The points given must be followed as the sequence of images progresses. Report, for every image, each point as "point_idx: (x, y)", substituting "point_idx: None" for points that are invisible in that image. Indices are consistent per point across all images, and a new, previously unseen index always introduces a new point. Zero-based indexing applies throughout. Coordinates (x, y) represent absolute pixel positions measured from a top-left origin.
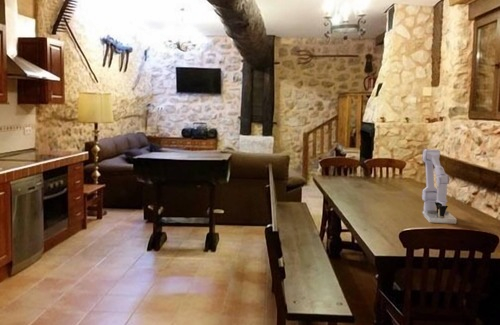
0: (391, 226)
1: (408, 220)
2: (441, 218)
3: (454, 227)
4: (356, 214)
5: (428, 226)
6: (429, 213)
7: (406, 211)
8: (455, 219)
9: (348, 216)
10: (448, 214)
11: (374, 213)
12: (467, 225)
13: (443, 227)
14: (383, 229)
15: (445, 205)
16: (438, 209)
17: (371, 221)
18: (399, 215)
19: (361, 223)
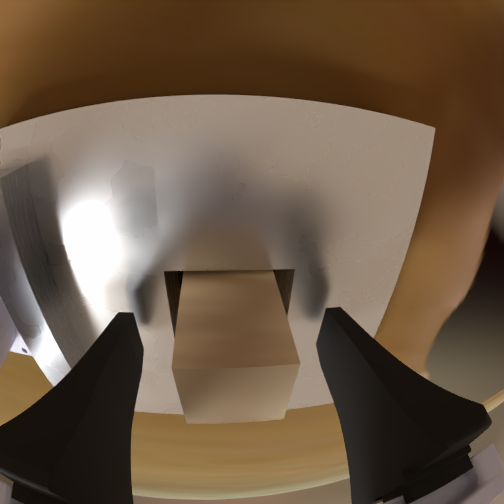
0: None
1: (257, 437)
2: (379, 322)
3: (487, 201)
4: (188, 493)
5: (418, 363)
6: None
7: (8, 396)
8: (426, 142)
9: (226, 497)
10: (63, 169)
11: (143, 477)
12: (433, 21)
13: (466, 285)
14: None
15: (494, 450)
16: (191, 419)
17: (291, 479)
18: (132, 446)
19: (318, 481)
